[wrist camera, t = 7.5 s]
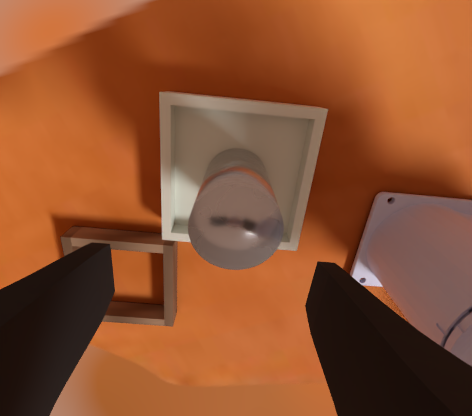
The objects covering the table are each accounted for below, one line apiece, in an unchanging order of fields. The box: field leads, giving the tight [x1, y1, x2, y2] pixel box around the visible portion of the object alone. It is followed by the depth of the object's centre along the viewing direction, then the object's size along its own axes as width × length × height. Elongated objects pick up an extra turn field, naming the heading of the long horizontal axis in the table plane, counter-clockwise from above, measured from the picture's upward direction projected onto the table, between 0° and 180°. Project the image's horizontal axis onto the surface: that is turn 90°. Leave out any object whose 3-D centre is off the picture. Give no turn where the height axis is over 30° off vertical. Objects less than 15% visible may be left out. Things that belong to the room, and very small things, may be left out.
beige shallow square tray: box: [159, 91, 328, 251], centre depth 18 cm, size 9×9×2 cm
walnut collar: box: [61, 226, 177, 326], centre depth 22 cm, size 8×8×2 cm
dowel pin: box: [188, 148, 284, 270], centre depth 14 cm, size 4×4×7 cm
